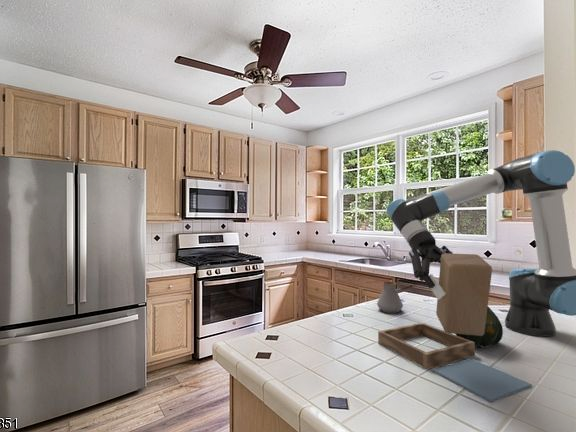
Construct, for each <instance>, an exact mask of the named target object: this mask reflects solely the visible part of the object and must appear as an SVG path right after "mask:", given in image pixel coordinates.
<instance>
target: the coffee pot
mask: <svg viewBox="0 0 576 432" xmlns="http://www.w3.org/2000/svg"><path fill="white" fill-rule="evenodd" d="M382 285H383V289H382V291H381V293H380V295H379V296H378V297H379V298H378V300H377V301H376V302H377V303H376V305H377V307H378V309H379V310H380V311H382V312H384V313H386V314H395V313H399V312H400V311H401V310H402V309H403V306H404V304H403V302H402V299H401V298H400V296H399V293H398V292H399V291H402V290H407V289H409V288H413V289H414V290H417V289H418V285H416V283H413V284H408V285H405V286H402V287H400V288H396V286H397V282H395V281H383V282H382ZM415 286H416V288H414V287H415Z"/></svg>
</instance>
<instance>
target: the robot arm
mask: <svg viewBox="0 0 576 432" xmlns="http://www.w3.org/2000/svg"><path fill="white" fill-rule="evenodd" d="M575 172H576V167H575V164H574V162H573V160H572V158H571V157H570V156H569V155H568V154H565V153H564V152H562V151H559V150H553V149H552V150H550V149H549V150H545V151H540V152H536V153H534V154H530V155H525V156H524V157H518V158H515V159H514V160H511V161H509V162H506V163H503V164H502V165H500V166H497V167H495V168H492V169H489V170H488V171H487V172H486V173H485V174H481V175H479V176H477V177H472V178H470V179H466V180H463V181H461V182H457V183H454V184H451V185H448V186H445V187H441V188H439V189H436V190H433V191H429V192H426V193H423V194H421V195H417V196H413V197H409V198H408V199H406V200H405V199H403V198H396V199H394V200H392V201H391V202H390V203H388V205H387V206H386V213H387V215H388V217H389V219H390V221H391V222H392V223H393V224H394V225H395V227H396V228H397V230H398V231H399V232H400V234H401V235H402V237H403V238H404V240H405V241H406V243H408V245H409V247H410V249H411V250H410V251H409V252H408V255H409V257H410V260H411V265H412V271H413V275H414V278H416V279H418V280H419V281H421V282H424V283H425V284H426V285H427V287H428V288H429V289H430V290H431V292H432V293H433V294H434V295H435V298H436V299H438V300H441V299H442V298H443V297H444V296H445V295H446V293H445V292H444V290H443V289H442V287H441V286H440V285H439V281H437V279H436V278H435V276H434V275H433V273H432V274H430V268H431V263H437V264H440V263H441V256H442V254H444V253H451V254H454V253H453V251H451V250H449V248H448V247H447V246H445V245H443V246H441V247H439V246H438V245H437V244H436V242H437V240H436V238H435V237H434V236H433V234H431V232H430V231H429V230H428V227H427V226H425V224H424V223H423V221H425V220H427V219H429V218H432V217H434V216H438V215H439V214H440V215H441V214H442V213H444V212H446V211H449V209H450V207H452V206H455V205H459V204H462V203H464V202H468V201H470V200H474V199H478V198H481V197H483V196H486V195H490V194H502V193H505V192H506V193H507V192H511V191H518V190H519V191H520V190H522V193H523V196H524V197H526V198H527V199H529V204H530V205H529V206H530V211H531V218H532V226H533V233H534V240H535V247H536V255H537V261H538V268H513V269H510V271H509V275H508V276H509V277H508V280H509V309H508V312H507V314H506V316H505V319H504V321H505V322H504V325H505V327H506V328H507V329H509V330H511V331H514V332H517V333H520V334H524V335H530V336H535V337H537V336H538V337H552V336H555V335H556V334H557V333H556V332H557V328H556V326H555V325H556V324H555V322H554V320H553V318H552V315H551V312H550V311H552V312H555V313H557V314H561V315H565V316H572V317H573V316H576V268H575V267H573V261H572V255H571V254H572V253H571V246H570V240H569V233H568V225H567V219H566V211H565V204H564V198H563V195H564V194H565V193H566V192H567V191H568V183H569V182H570V181H571V180H572V178H573V177H574V175H575Z"/></svg>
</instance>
